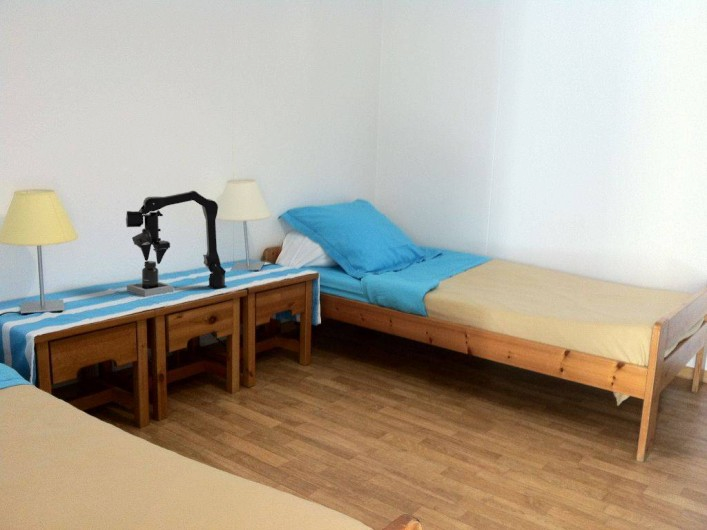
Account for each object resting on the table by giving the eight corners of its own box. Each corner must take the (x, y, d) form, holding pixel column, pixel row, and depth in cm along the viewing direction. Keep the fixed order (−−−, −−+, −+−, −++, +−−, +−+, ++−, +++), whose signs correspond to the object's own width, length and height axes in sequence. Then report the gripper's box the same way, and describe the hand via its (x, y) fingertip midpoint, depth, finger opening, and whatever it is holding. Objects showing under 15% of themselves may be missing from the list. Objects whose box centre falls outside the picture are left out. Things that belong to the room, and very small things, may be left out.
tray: (155, 286, 309) (154, 280, 308) (173, 291, 300) (173, 285, 299) (127, 290, 298) (126, 284, 298) (145, 296, 289) (145, 290, 289)
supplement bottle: (141, 290, 295) (140, 263, 292) (143, 287, 301) (142, 260, 299) (157, 290, 296) (157, 263, 294) (159, 287, 303) (158, 260, 300)
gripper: (122, 225, 294) (124, 261, 297) (147, 230, 282) (148, 267, 285) (145, 223, 303) (146, 258, 306) (170, 228, 291) (171, 264, 294)
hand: (152, 262), depth 297 cm, fingers open, 9 cm apart
